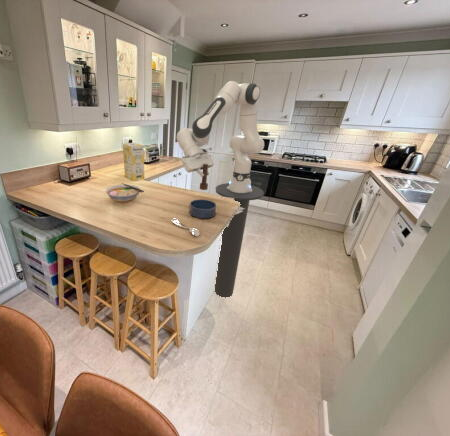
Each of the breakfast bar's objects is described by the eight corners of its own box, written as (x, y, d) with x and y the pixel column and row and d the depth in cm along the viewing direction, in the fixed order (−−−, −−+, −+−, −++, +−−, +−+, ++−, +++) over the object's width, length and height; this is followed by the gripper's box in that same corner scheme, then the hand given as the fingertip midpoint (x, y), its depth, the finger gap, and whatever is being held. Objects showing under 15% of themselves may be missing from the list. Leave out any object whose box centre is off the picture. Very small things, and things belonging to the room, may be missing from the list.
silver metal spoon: (169, 216, 126) (176, 213, 128) (169, 221, 127) (175, 219, 130) (194, 232, 112) (201, 230, 114) (194, 239, 114) (201, 236, 116)
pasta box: (144, 179, 201) (143, 145, 189) (133, 180, 196) (131, 146, 184) (135, 174, 215) (133, 142, 203) (124, 175, 210) (122, 143, 198)
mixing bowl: (193, 206, 147) (194, 198, 144) (217, 211, 141) (218, 201, 139) (185, 216, 135) (186, 206, 132) (211, 221, 129) (212, 211, 126)
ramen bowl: (100, 198, 159) (98, 187, 155) (128, 191, 172) (127, 180, 169) (118, 210, 142) (117, 197, 138) (148, 201, 155) (148, 189, 151)
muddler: (200, 187, 135) (202, 162, 129) (208, 188, 133) (210, 163, 127) (198, 189, 131) (200, 164, 125) (206, 190, 130) (208, 165, 123)
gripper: (183, 153, 122) (195, 175, 120) (208, 149, 134) (220, 169, 132) (177, 160, 127) (189, 182, 125) (202, 156, 139) (213, 175, 137)
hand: (205, 175), depth 128 cm, fingers closed on muddler, 2 cm apart
